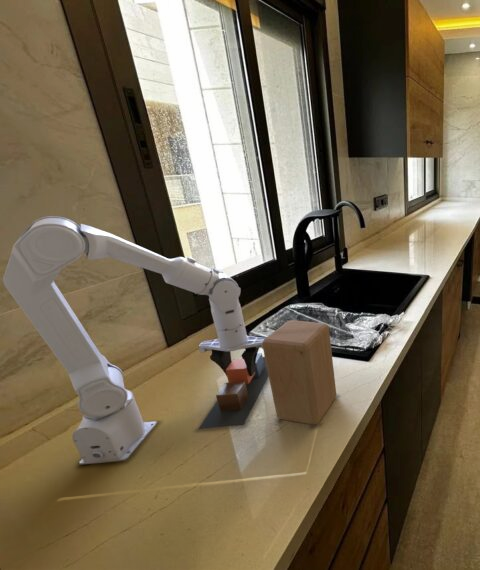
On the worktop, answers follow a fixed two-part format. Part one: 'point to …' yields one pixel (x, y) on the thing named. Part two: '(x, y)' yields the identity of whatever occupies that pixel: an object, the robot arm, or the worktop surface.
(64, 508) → the worktop surface
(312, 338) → the wooden block
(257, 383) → the line mat
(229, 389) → the walnut block
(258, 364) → the slate-blue block
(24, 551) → the worktop surface
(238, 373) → the terracotta block
